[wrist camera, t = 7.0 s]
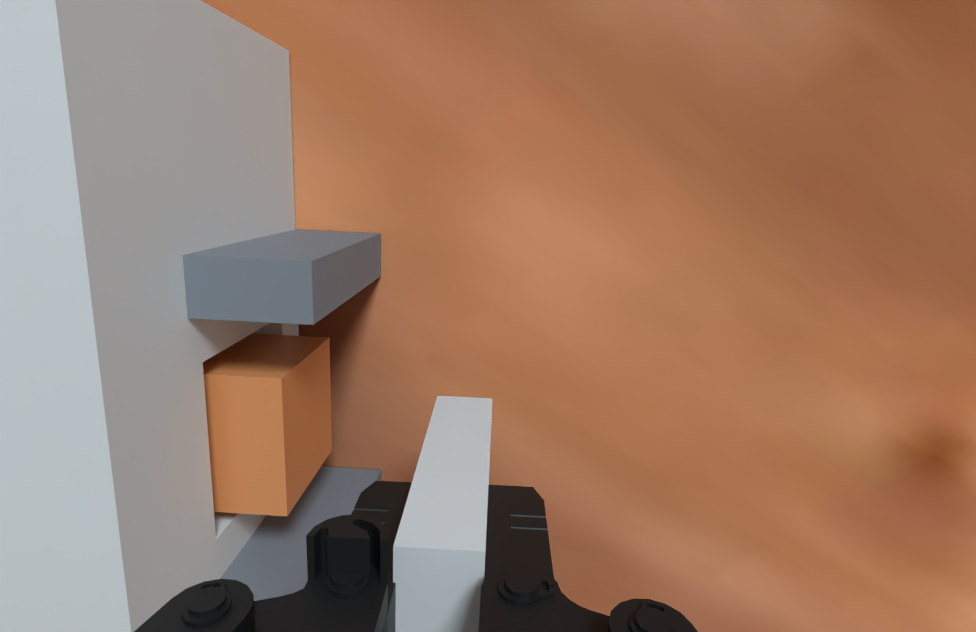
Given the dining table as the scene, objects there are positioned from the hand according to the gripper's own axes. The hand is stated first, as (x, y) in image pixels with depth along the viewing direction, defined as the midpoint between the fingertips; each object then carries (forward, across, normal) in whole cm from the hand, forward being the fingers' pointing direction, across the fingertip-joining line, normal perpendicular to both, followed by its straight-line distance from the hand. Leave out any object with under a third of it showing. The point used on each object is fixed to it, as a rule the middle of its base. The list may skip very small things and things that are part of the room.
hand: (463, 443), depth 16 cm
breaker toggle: (+3, -8, 0) cm, 9 cm away
